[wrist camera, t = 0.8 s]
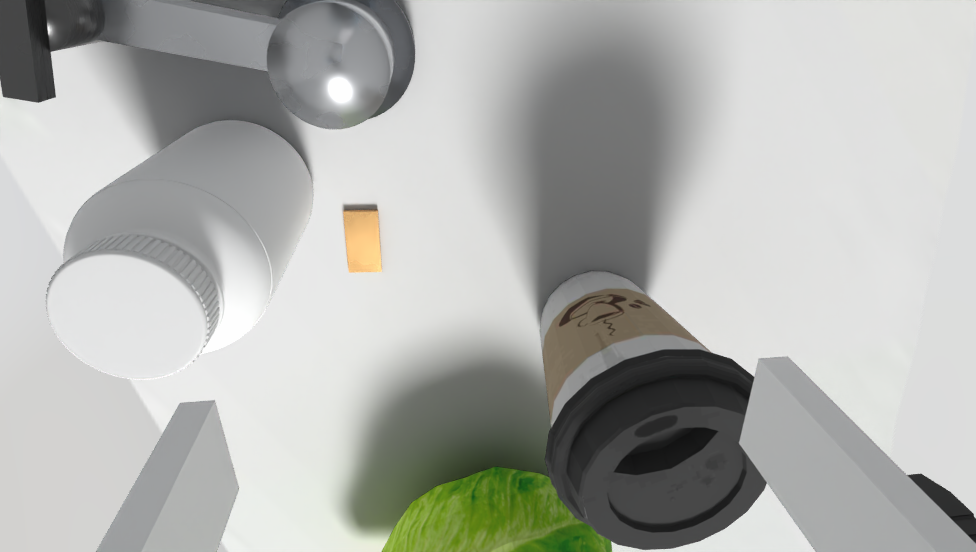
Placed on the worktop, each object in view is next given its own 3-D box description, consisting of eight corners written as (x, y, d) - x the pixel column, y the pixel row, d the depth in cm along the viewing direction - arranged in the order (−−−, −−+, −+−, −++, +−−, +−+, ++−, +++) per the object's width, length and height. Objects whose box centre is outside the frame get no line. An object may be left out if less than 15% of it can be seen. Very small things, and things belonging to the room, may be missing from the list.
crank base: (270, -28, 29) (264, -28, 28) (412, -24, 30) (412, -24, 29) (308, 271, 36) (305, 280, 35) (421, 268, 37) (421, 276, 36)
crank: (402, -2, 29) (398, 4, 22) (387, 120, 31) (379, 158, 25) (67, -74, 26) (-53, -92, 19) (80, 66, 29) (-21, 92, 22)
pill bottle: (157, 112, 31) (-35, 212, 18) (311, 120, 32) (237, 219, 19) (181, 248, 35) (35, 414, 22) (319, 251, 36) (262, 411, 23)
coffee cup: (647, 212, 37) (776, 343, 24) (688, 346, 42) (813, 515, 29) (483, 282, 38) (519, 445, 25) (543, 405, 43) (599, 594, 30)
